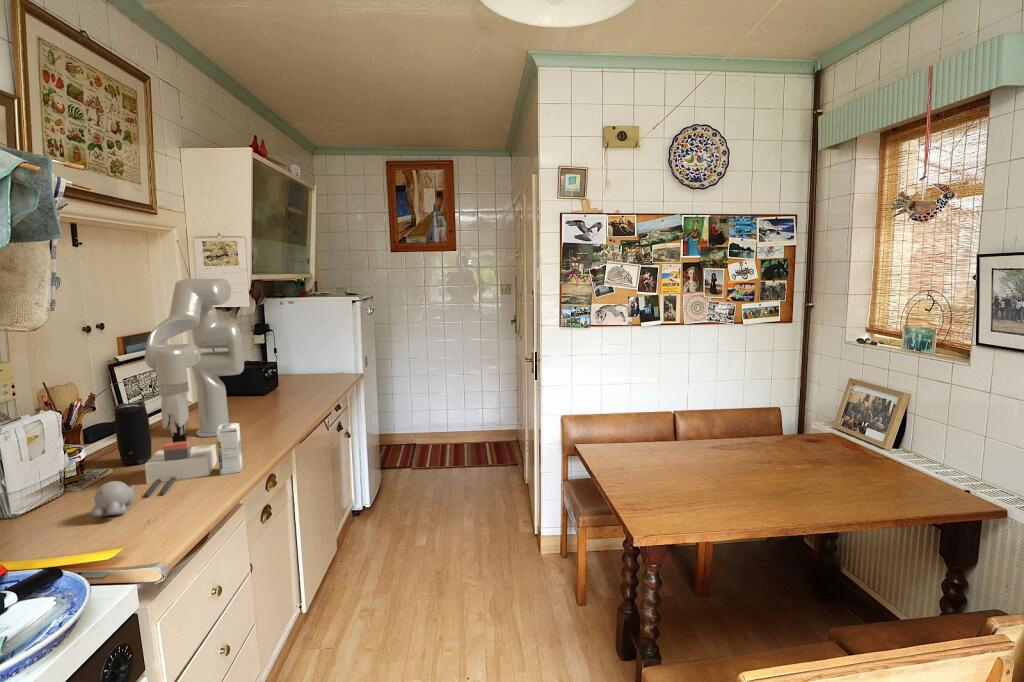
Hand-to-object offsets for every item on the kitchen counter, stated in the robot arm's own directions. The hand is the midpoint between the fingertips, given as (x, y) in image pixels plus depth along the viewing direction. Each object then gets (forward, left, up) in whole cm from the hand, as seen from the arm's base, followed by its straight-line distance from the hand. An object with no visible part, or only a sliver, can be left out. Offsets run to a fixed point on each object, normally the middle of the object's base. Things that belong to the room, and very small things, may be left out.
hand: (180, 446), depth 153 cm
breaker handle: (+3, 0, -2) cm, 4 cm away
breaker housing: (-1, 0, -9) cm, 9 cm away
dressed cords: (+11, -3, -9) cm, 14 cm away
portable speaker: (-17, -17, -9) cm, 25 cm away
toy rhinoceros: (+23, -9, -9) cm, 26 cm away
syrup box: (+3, +14, -9) cm, 17 cm away
